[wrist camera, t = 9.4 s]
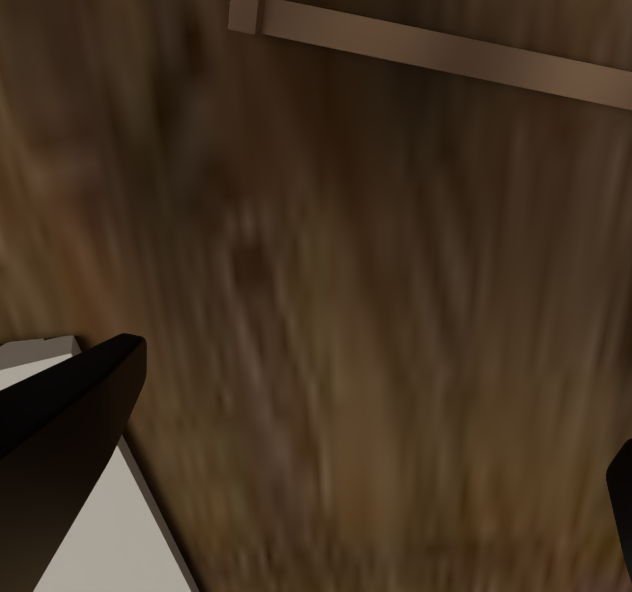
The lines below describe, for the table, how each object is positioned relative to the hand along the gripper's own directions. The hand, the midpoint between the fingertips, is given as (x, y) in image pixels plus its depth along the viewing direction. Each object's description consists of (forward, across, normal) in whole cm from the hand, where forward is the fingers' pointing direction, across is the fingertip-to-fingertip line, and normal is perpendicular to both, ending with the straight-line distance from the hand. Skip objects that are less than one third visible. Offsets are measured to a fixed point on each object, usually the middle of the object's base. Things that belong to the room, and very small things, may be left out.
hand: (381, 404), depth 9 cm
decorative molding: (+13, +11, +28) cm, 32 cm away
